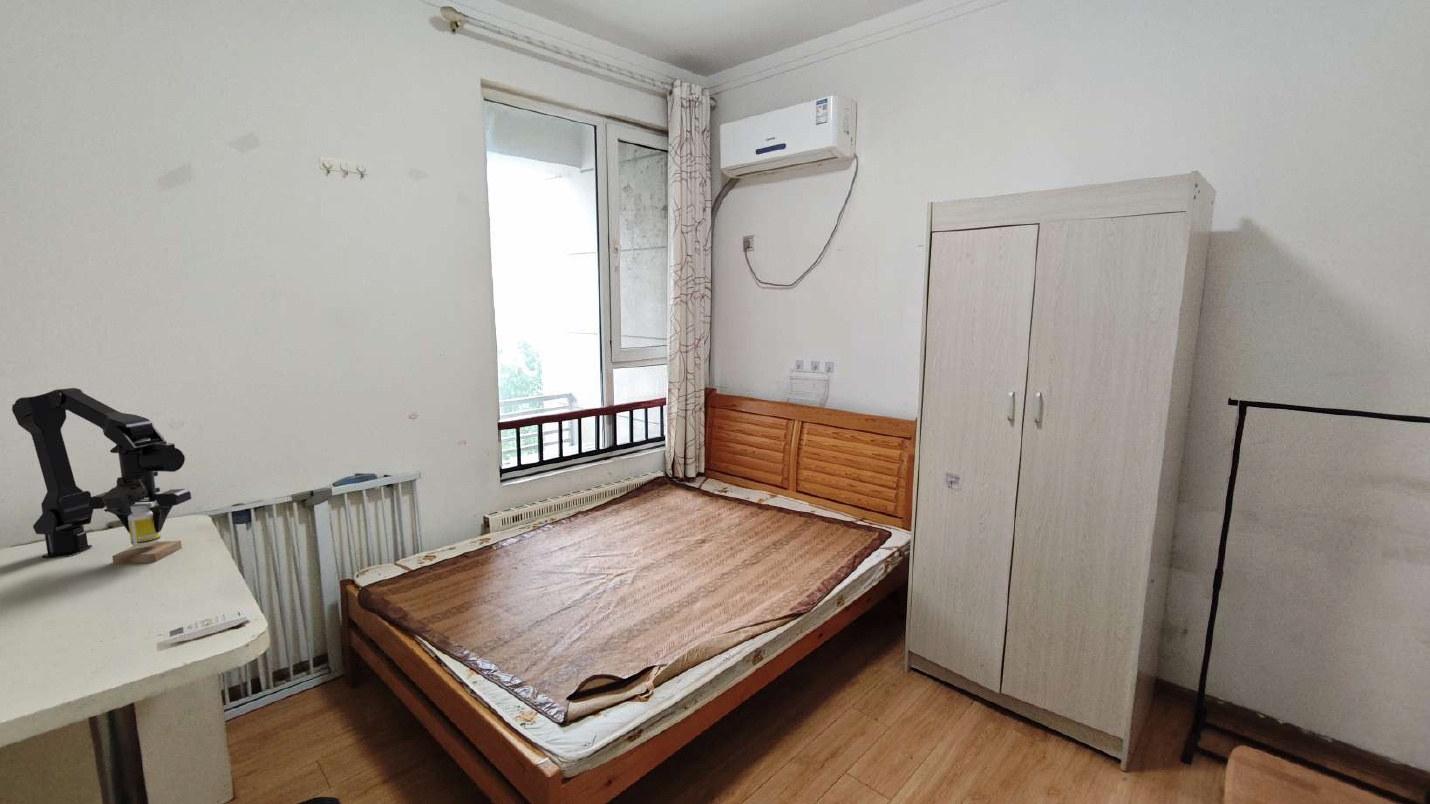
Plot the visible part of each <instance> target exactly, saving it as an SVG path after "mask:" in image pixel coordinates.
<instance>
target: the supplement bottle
mask: <svg viewBox="0 0 1430 804" xmlns="http://www.w3.org/2000/svg"><path fill="white" fill-rule="evenodd" d="M153 506H154V502H138V503H135V504H133V505H132V506H131V512H133V513H132V514H130V515H129V516H128V523H129V531H130V534H129V537H130V544H131V546H132V547H133V546H143V545H149V544H153V543H156V542H161V540H162V537H161V531H160V532H158V533H156V531H155V527H154V518H153V513H152V512H151V511H150V510H149V508H150V507H153Z"/></svg>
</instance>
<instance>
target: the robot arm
mask: <svg viewBox="0 0 1430 804" xmlns="http://www.w3.org/2000/svg"><path fill="white" fill-rule="evenodd" d="M11 411H12V414H13V416H14V417H15V420H16V422H17V424H18V426H20V427H21V428H22V429H24V430H25V431H26V432H28V434H30V435H31V438H32V442H33V445H34V448H35V453H36V455H37V459H38V464H39V467H40V469H41V473H42V474H41V475H42V476H43V480H44V484H45V487H46V491H47V492H46V493H45V496H44V498H43V500H42V502H41V511H42V514H40V516H39V518H38V519H37V520H36V521H35V523H34V524H33V525H32V528H33V531H34V532H35V534H36V535H44V539H45V546H46V552H47V553H44V554H42V555H41V558H57V557H58V558H59V557H70V556H69V555H72V556H74V555H76V554H75V553H77V552H79V553H81V552H83V550H84V551H85V549H86V550H88V549H91V548H93V545H92V544H89V543H88V535H87V532H86V531H85V528H84V526H85V525H90V524H91V523H92V517H93V514H94V510H101V509H103V511H104V512H106V513H107V512H108V513H111V514H113V515H115V516H116V518H118V519H119V521H120V523H121V524H122V525H123V527H124V528H125V530H126V531H127V532H128V534H129V535H130V531H129V523H128V516H129V515H130V514H132V513H133V512H131V506H132V505H133V504H136V503H141V502H152V503H154V505H153V507H150V508H149V510H150V511H151V512H152V513H153V518H154V527H155V531H156V533H158V532H160V533H161V532H162V529H163V527H164V524H165V523H166V520H167V518H168V515H169V513H170V512H171V510H172V508H173V507H174V506H178V505H180V504H182V503H185V502H187V501H190V500H192V494H191V492H190V490H189V489H187V488H176V489H175V488H174V489H173V488H172V489H169V490H167V491H164V492H162V493H160V492H161V489H160V487H156V482H155V481H156V480H155V477H158V475H159V473H158V472H163V473H165V472H167V473H173V472H177V471H179V470H180V469H182V467H183V466H184V465H185V460H186V457H185V454H184V453H183V451H182V450H180V448H176V445H175V443H173V442H167V440H166V439H165V438H164V436H163V435H162V434H161V433H160V432H159V431H158V429H157V428H156V427H155V425H154V424H153V422H152V421H151V420H150V419H149V418H146V417H143V416H140V415H137V414H133V413H132V414H131V413H125V412H121V411H118V410H116V409H114V408H112V407H110V406H109V405H107V404H104V403H103V402H101V401H99V400H97V399H95V398H94V397H92V396H89V395H88V394H86V393H84V392H83V390H82V389H79V388H76V387H69V388H57V389H54V390H52V391H48V392H45V393H43V394H38V395H35V396H25V397H20V398H17V399H16V400H15V402H14V404H13V403H12V407H11ZM66 411H69V412H71V413H72V414H74V415H76V416H79V417H80V418H82V419H84V420H85V421H88V423H89V422H90V423H91V424H93V425H95V426H97V427H99V428H100V429H102V432H103V435H104V436H105V438H107V439H109V440H110V441H111V442H112V443H114V444H116V445H115V446H113V447H112V448H111V449H110V451H109V452H110V454H111V453H112V454H118V459H119V460H118V461H119V468H120V474H121V475H120V477H117V479H116V486H115V487H112V488H111V489H109V490H108V491H104V492H103V493H100V494H97V495H93V496H92V493H91V492H90V491H89V490H85V491H84V490H83V489H81V488H80V487H78V486H77V483H76V480H75V477H74V473H73V470H72V466H71V462H70V459H69V455H68V452H67V449H66V445H65V441H64V438H63V437H64V436H63V433H62V428H63V427H64V424H65V421H66V420H67V412H66ZM90 547H91V548H90ZM87 548H88V549H87ZM73 554H74V555H73ZM77 554H78V553H77Z"/></svg>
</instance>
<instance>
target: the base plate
mask: <svg viewBox="0 0 1430 804" xmlns="http://www.w3.org/2000/svg"><path fill="white" fill-rule="evenodd" d="M180 549H182V540H170V541H169V540H167V541H158V542H156V543H153V544H149V545H143V546H133V545H132V547H131V546H130V547H128V548H126V549H125V550H122V551H120V552H118V553H116V554H114V555H112V564H113V565H120V564H121V565H123V564H135V563H137V564H140V563H153V562H154V563H155V562H157V561H160V560H162V559H164V558H166V557H167V556H169V555H172V554H173V553H175V552H177V551H178V550H180ZM159 559H160V560H159Z"/></svg>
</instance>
